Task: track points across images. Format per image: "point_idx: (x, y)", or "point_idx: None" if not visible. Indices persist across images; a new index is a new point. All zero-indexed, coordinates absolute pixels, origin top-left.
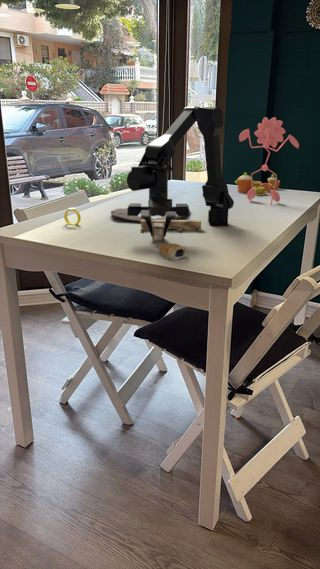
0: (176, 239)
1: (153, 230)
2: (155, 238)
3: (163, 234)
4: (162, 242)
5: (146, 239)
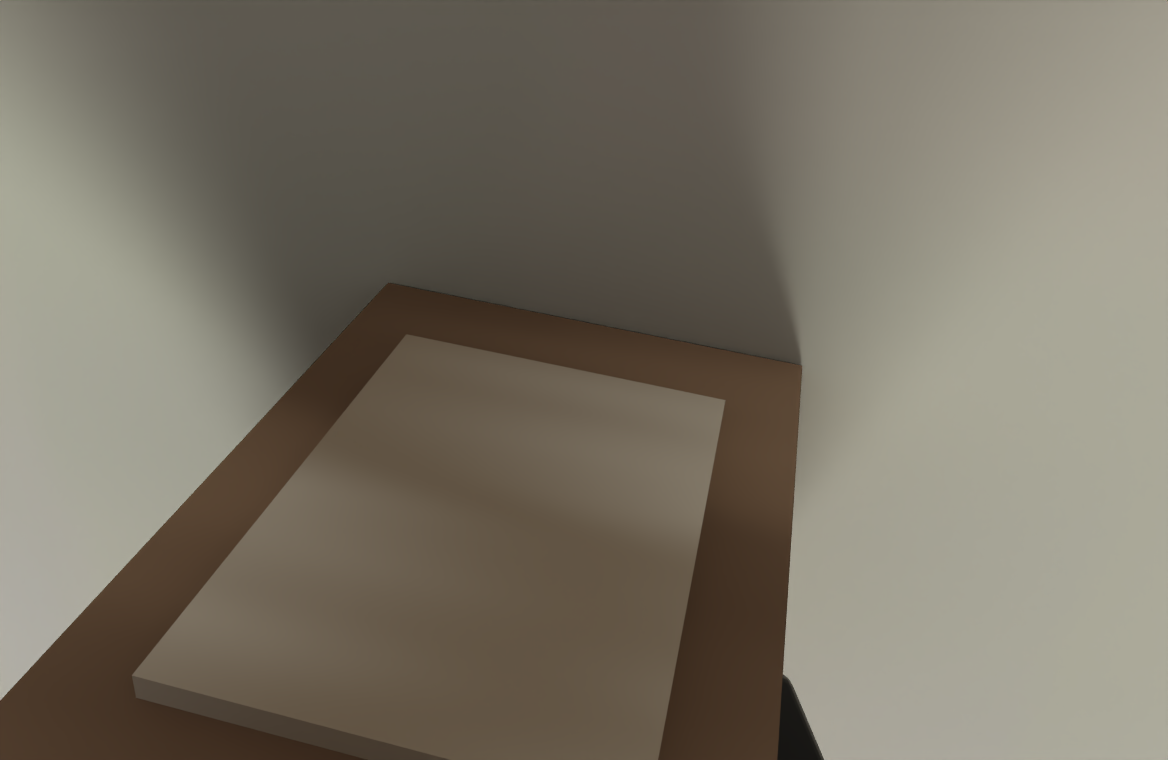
0: (47, 531)
1: (707, 752)
2: (662, 422)
3: (236, 463)
4: (427, 293)
5: (930, 730)
